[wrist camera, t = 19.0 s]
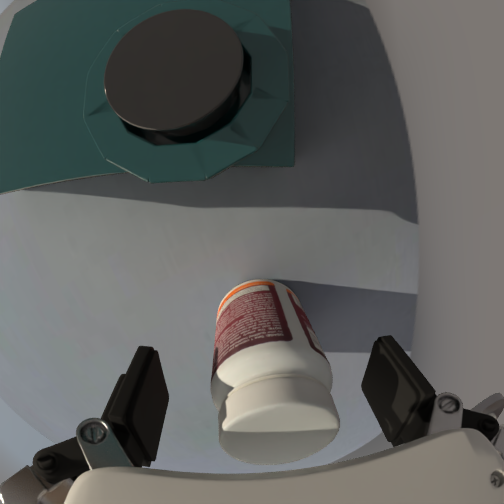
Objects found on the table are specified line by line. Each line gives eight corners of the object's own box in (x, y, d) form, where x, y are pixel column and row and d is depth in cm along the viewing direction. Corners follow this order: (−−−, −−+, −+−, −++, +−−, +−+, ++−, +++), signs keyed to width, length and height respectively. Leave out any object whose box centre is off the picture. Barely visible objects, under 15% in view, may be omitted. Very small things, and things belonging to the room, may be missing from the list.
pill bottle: (207, 336, 15) (191, 459, 7) (234, 264, 14) (234, 380, 6) (280, 356, 16) (307, 472, 8) (315, 292, 15) (379, 401, 7)
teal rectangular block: (277, -20, 9) (291, -71, 4) (280, 176, 13) (306, 180, 8) (39, 27, 8) (-1, 6, 4) (20, 197, 12) (-34, 212, 7)
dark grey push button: (242, 30, 7) (244, 4, 5) (241, 135, 8) (243, 126, 6) (130, 41, 7) (112, 22, 5) (122, 143, 8) (98, 139, 6)
